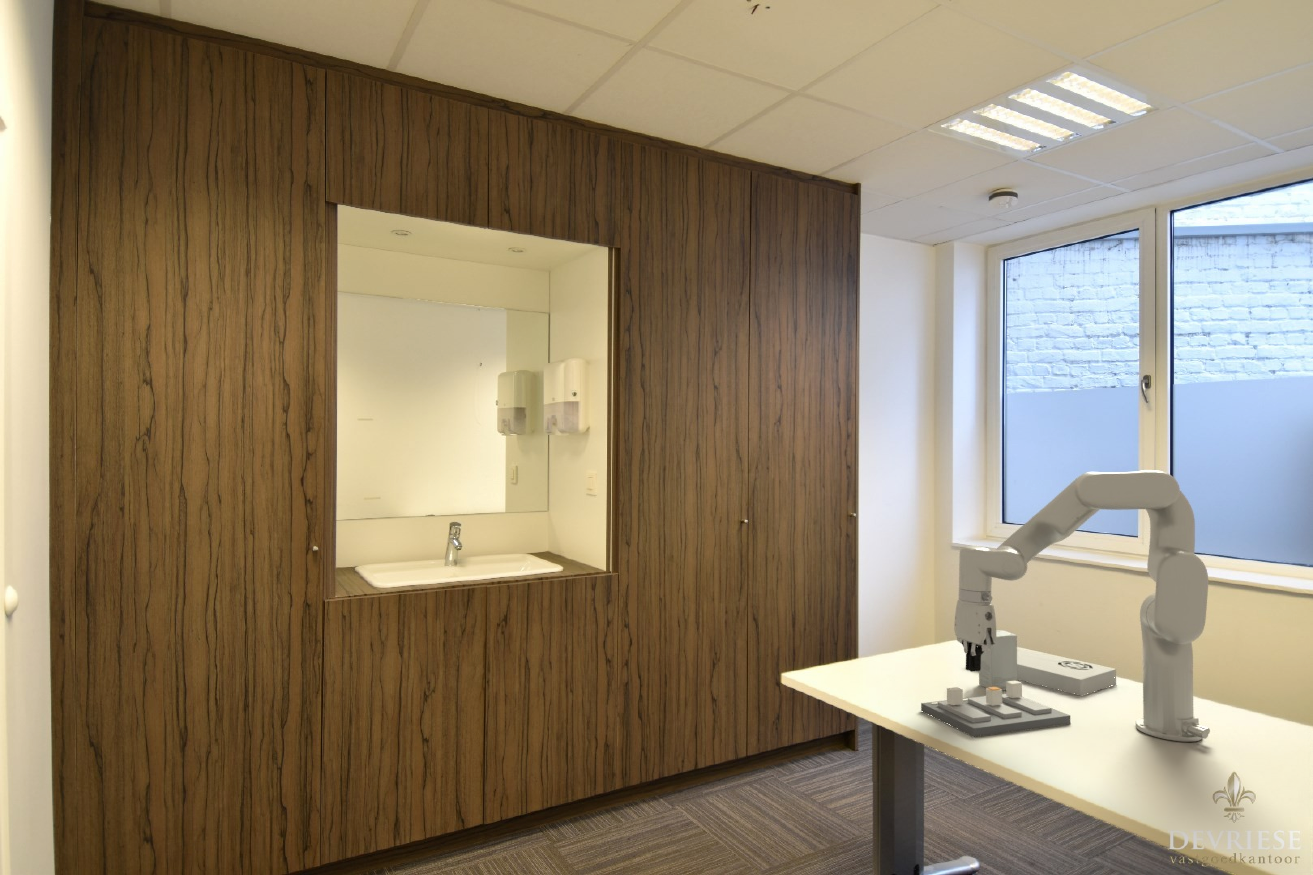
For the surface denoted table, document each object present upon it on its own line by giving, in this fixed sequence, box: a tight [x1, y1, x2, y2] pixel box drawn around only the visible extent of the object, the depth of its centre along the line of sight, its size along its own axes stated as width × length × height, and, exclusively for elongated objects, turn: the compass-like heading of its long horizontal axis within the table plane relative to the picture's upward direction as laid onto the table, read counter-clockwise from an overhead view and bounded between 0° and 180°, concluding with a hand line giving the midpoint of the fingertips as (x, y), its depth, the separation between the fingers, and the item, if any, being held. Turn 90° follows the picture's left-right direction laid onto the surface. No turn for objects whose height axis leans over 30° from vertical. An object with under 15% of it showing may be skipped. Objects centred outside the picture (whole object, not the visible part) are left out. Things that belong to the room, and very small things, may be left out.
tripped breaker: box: [985, 687, 1003, 706], centre depth 180 cm, size 2×3×4 cm, turn 109°
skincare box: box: [978, 629, 1018, 691], centre depth 204 cm, size 8×6×15 cm
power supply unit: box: [1017, 646, 1117, 696], centre depth 216 cm, size 19×33×5 cm, turn 33°
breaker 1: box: [946, 686, 964, 705], centre depth 180 cm, size 2×3×4 cm, turn 109°
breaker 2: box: [1005, 680, 1023, 698], centre depth 186 cm, size 2×3×4 cm, turn 109°
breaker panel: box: [920, 692, 1071, 738], centre depth 180 cm, size 18×28×3 cm, turn 109°
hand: (973, 670), depth 186 cm, fingers closed
